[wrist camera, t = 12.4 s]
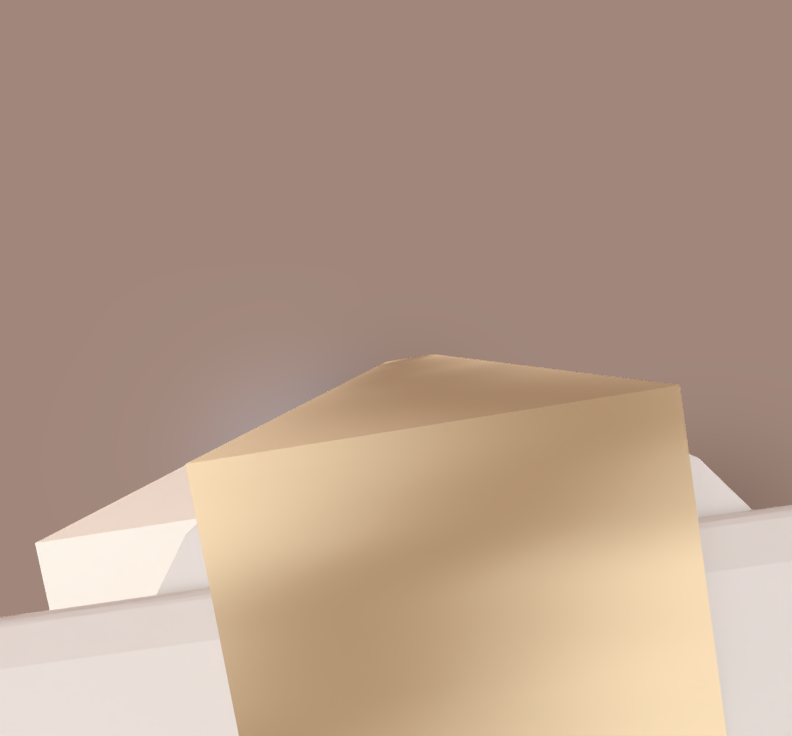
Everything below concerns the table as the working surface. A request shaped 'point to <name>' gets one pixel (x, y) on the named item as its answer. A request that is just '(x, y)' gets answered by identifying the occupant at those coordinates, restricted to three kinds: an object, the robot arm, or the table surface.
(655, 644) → the tan rectangular block
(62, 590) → the white cardboard box
